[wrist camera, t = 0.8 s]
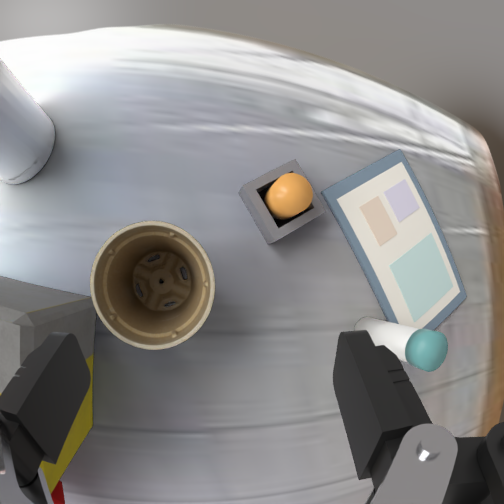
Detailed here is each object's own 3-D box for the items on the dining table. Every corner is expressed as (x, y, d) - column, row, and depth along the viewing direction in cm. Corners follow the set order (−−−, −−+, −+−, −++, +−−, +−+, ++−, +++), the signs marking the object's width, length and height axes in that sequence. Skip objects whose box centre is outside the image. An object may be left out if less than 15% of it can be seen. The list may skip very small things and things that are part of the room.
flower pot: (230, 283, 32) (242, 287, 23) (163, 348, 30) (153, 374, 22) (164, 214, 31) (153, 194, 23) (99, 280, 30) (67, 283, 21)
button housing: (238, 193, 33) (242, 185, 30) (287, 168, 34) (295, 158, 31) (268, 244, 33) (275, 241, 30) (315, 216, 34) (326, 211, 31)
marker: (348, 327, 34) (413, 349, 22) (370, 310, 34) (441, 323, 23) (360, 351, 34) (425, 379, 22) (382, 334, 35) (451, 354, 23)
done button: (257, 194, 31) (265, 183, 27) (287, 178, 32) (299, 166, 28) (275, 226, 32) (287, 220, 28) (305, 209, 32) (320, 201, 28)
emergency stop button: (-1, 451, 25) (-55, 505, 10) (-11, 272, 27) (-100, 270, 12) (98, 486, 28) (68, 567, 13) (99, 297, 30) (29, 316, 15)
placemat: (320, 192, 34) (323, 190, 33) (397, 150, 36) (400, 148, 36) (402, 355, 35) (405, 356, 34) (464, 296, 37) (467, 296, 37)
